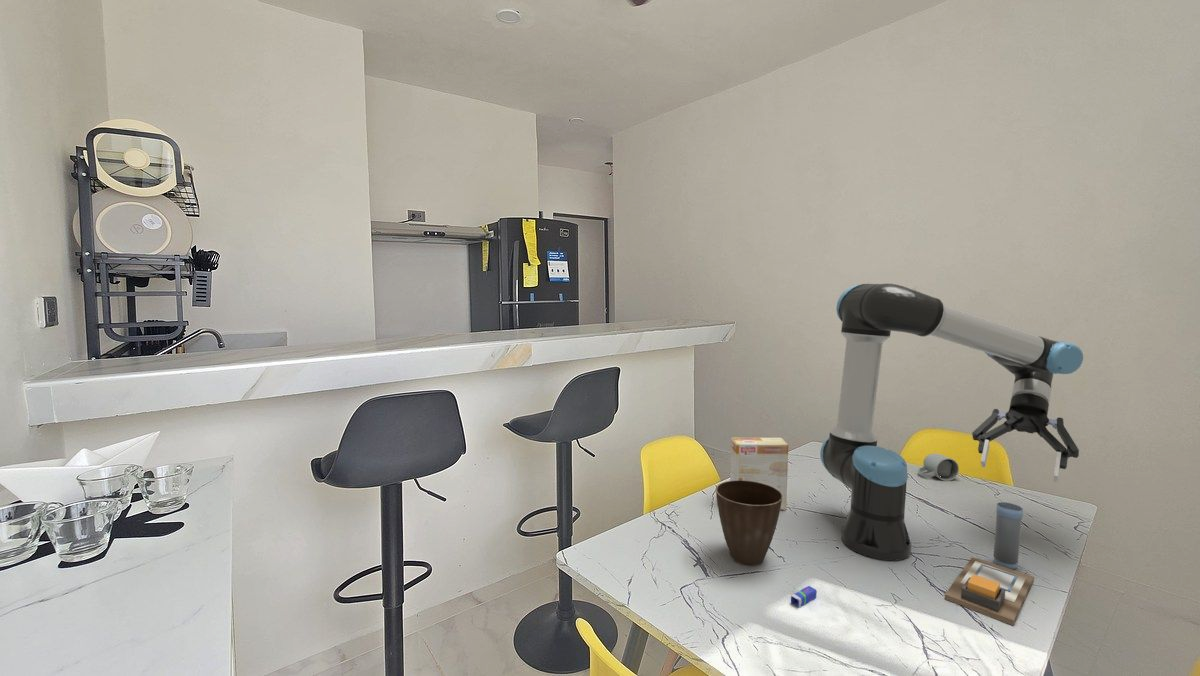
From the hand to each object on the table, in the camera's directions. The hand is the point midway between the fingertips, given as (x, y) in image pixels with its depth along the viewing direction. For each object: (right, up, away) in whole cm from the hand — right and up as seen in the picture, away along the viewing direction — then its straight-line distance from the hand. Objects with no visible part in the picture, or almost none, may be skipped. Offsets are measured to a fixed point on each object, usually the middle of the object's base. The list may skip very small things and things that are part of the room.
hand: (1018, 471), depth 121 cm
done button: (-24, -19, -20) cm, 36 cm away
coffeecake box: (-55, -17, +27) cm, 63 cm away
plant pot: (-66, -20, -2) cm, 69 cm away
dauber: (-8, -20, -6) cm, 22 cm away
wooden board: (-18, -21, -15) cm, 32 cm away
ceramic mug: (+13, -15, +49) cm, 53 cm away
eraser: (-60, -22, -19) cm, 66 cm away
